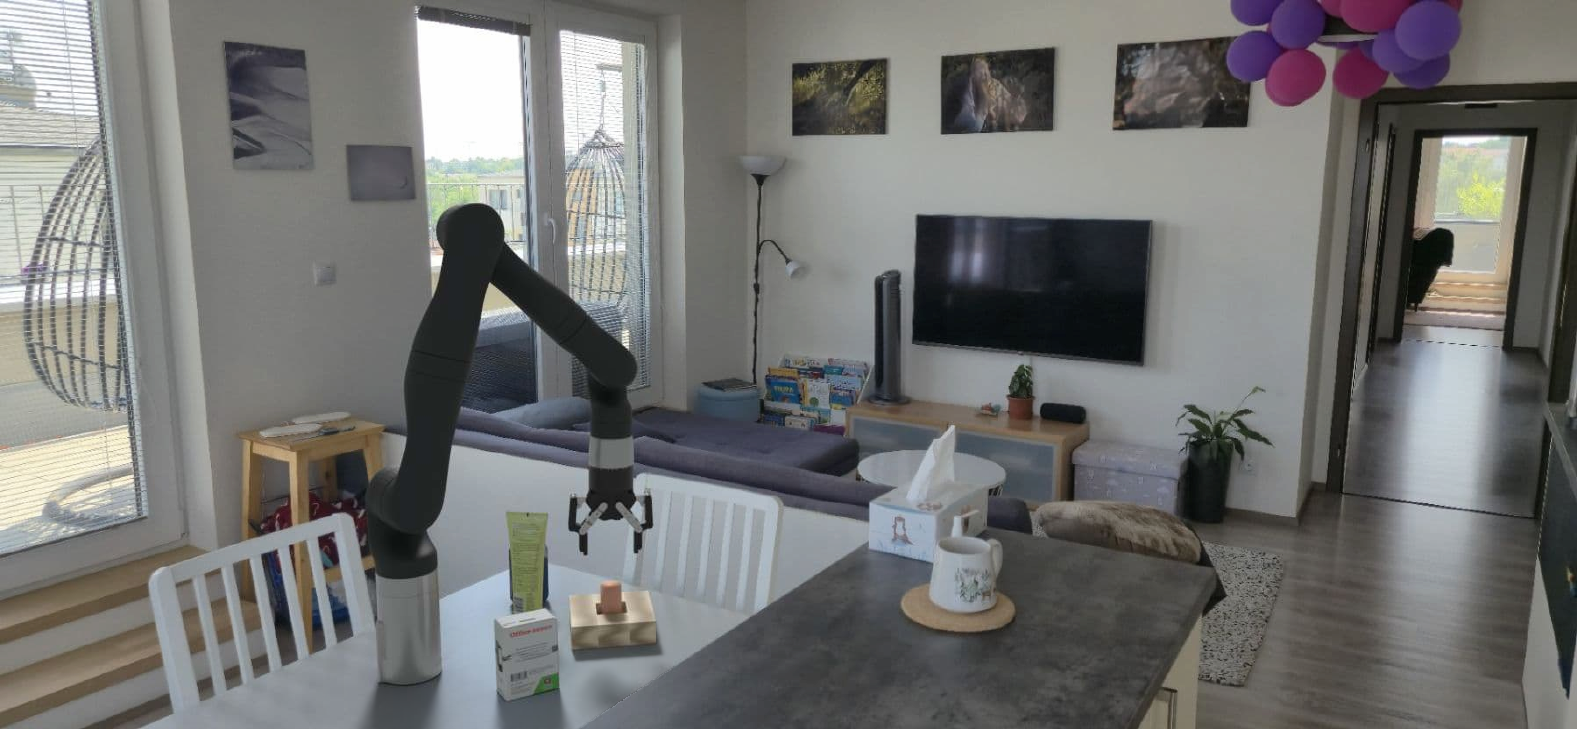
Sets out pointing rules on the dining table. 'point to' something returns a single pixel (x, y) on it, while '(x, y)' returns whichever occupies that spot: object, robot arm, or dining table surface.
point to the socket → (611, 621)
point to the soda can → (545, 576)
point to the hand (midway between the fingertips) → (610, 553)
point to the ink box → (526, 654)
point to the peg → (611, 597)
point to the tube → (527, 558)
